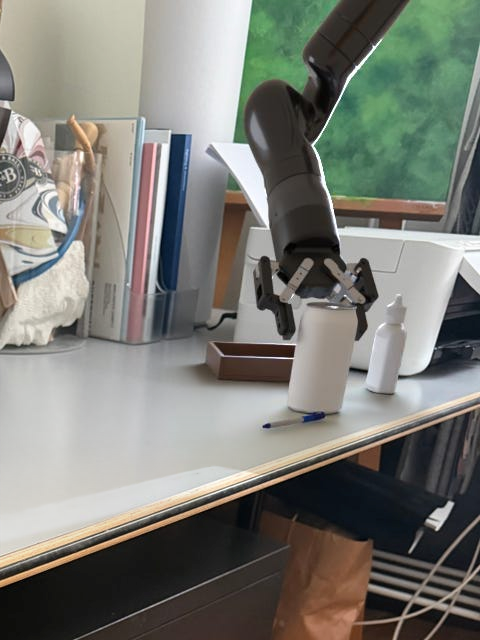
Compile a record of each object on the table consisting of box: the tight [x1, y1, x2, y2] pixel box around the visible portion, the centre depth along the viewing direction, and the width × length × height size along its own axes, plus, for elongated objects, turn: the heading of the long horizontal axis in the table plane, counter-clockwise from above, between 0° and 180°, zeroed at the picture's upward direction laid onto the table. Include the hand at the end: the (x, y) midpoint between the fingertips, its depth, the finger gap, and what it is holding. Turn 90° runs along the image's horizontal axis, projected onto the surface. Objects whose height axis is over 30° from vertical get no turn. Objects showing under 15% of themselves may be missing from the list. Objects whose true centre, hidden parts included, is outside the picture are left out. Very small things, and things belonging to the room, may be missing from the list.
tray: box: [204, 340, 296, 383], centre depth 133 cm, size 14×12×3 cm
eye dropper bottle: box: [365, 293, 408, 394], centre depth 122 cm, size 4×6×12 cm
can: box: [286, 301, 358, 416], centre depth 111 cm, size 6×6×12 cm
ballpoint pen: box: [261, 412, 327, 430], centre depth 106 cm, size 10×1×1 cm, turn 126°
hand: (324, 336), depth 110 cm, fingers open, 8 cm apart
